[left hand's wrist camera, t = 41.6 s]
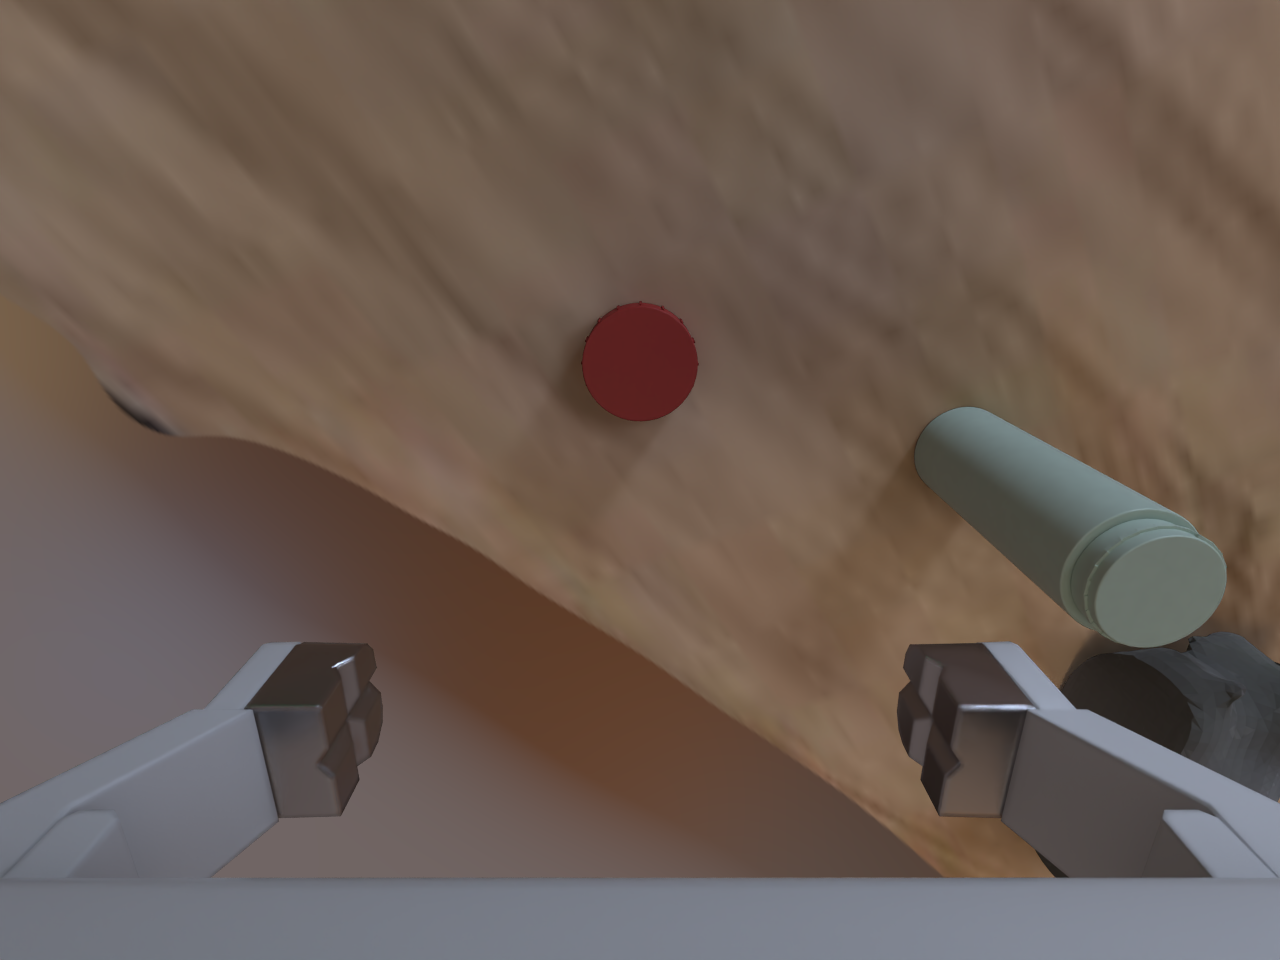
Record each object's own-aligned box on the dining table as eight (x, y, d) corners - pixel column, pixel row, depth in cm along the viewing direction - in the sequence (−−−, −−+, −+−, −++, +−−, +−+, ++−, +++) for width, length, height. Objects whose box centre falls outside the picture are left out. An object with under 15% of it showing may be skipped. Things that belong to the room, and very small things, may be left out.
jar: (967, 508, 38) (1162, 678, 24) (895, 467, 37) (1053, 619, 23) (1026, 434, 37) (1270, 568, 22) (952, 389, 36) (1158, 500, 22)
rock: (1158, 857, 47) (1255, 975, 40) (998, 840, 46) (1066, 957, 39) (1278, 624, 41) (1420, 713, 33) (1094, 603, 40) (1196, 687, 33)
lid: (685, 292, 34) (688, 295, 33) (703, 402, 36) (706, 410, 35) (573, 313, 35) (570, 318, 33) (596, 422, 36) (594, 431, 35)
